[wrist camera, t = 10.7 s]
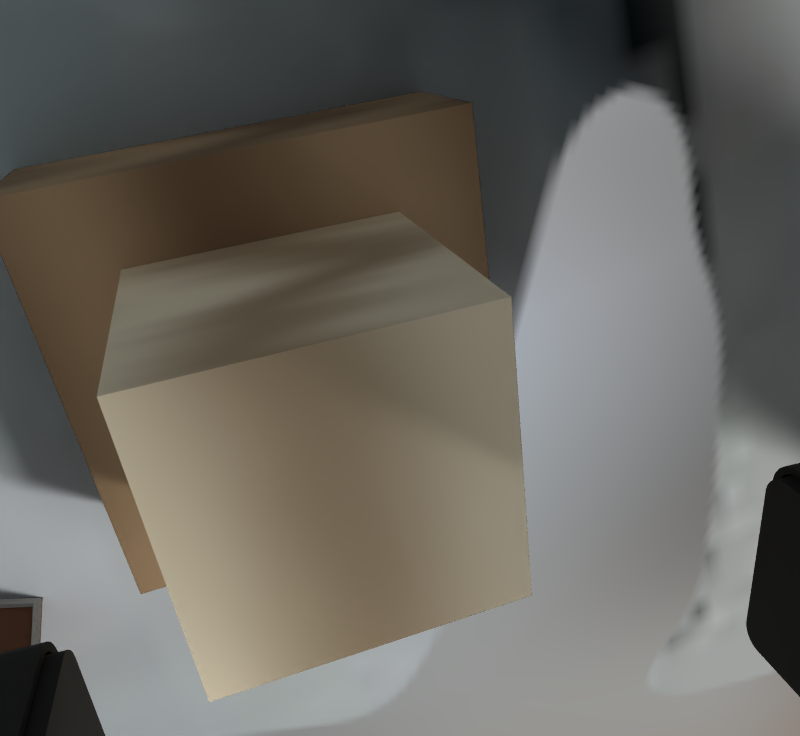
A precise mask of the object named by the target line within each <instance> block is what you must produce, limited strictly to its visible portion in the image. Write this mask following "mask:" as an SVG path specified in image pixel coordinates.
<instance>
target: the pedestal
mask: <svg viewBox="0 0 800 736" xmlns="http://www.w3.org/2000/svg"><path fill="white" fill-rule="evenodd" d="M394 212H401V213H402V214H403V215H405V216H406V217H407V218H408V219H410V220H411V221H412V222H414V223H415V224H416V225H418V226H419V227H420V228H422V229H423V230H424V231H426V232H427V233H428V234H429V235H431V236H432V237H433V238H435V239H436V240H437V241H439V242H440V243H441V244H443V245H444V246H445V247H447V248H448V249H449V250H451V251H452V252H453V253H454V254H456V255H457V256H458V257H460V258H461V259H462V260H464V261H465V262H466V263H468V264H469V265H470V266H472V267H473V268H474V269H475V270H477V271H478V272H479V273H481V274H482V275H483V276H485V277H486V278H487V279H489V273H488V262H487V252H486V242H485V231H484V221H483V210H482V200H481V189H480V179H479V169H478V158H477V148H476V137H475V127H474V117H473V106H472V103H471V102H466V101H461V100H457V99H452V98H448V97H443V96H438V95H434V94H429V93H425V92H416V93H411V94H406V95H400V96H395V97H390V98H385V99H379V100H374V101H369V102H364V103H359V104H353V105H348V106H343V107H338V108H333V109H327V110H322V111H317V112H312V113H306V114H301V115H296V116H291V117H286V118H280V119H275V120H270V121H265V122H260V123H254V124H249V125H244V126H239V127H233V128H228V129H223V130H218V131H213V132H207V133H202V134H197V135H192V136H187V137H181V138H176V139H171V140H166V141H160V142H155V143H150V144H145V145H140V146H134V147H129V148H124V149H119V150H114V151H108V152H103V153H98V154H93V155H87V156H82V157H77V158H72V159H67V160H61V161H56V162H51V163H46V164H41V165H35V166H30V167H25V168H20V169H14V170H13V171H11V172H10V173H9V174H8V175H7V176H6V177H5V178H4V179H2V180H1V181H0V254H1V256H2V258H3V261H4V263H5V266H6V268H7V271H8V273H9V275H10V278H11V280H12V283H13V285H14V288H15V290H16V292H17V295H18V297H19V300H20V302H21V305H22V307H23V309H24V312H25V314H26V317H27V319H28V322H29V324H30V326H31V329H32V331H33V334H34V336H35V339H36V341H37V343H38V346H39V348H40V351H41V353H42V356H43V358H44V360H45V363H46V365H47V368H48V370H49V373H50V375H51V377H52V380H53V382H54V385H55V387H56V390H57V392H58V394H59V397H60V399H61V402H62V404H63V407H64V409H65V411H66V414H67V416H68V419H69V421H70V424H71V426H72V428H73V431H74V433H75V436H76V438H77V440H78V443H79V445H80V448H81V450H82V453H83V455H84V457H85V460H86V462H87V465H88V467H89V470H90V472H91V474H92V477H93V479H94V482H95V484H96V487H97V489H98V491H99V494H100V496H101V499H102V501H103V504H104V506H105V508H106V511H107V513H108V516H109V518H110V521H111V523H112V525H113V528H114V530H115V533H116V535H117V538H118V540H119V542H120V545H121V547H122V550H123V552H124V555H125V557H126V559H127V562H128V564H129V567H130V569H131V572H132V574H133V576H134V579H135V581H136V584H137V586H138V589H139V591H140V593H141V594H143V593H146V592H149V591H153V590H156V589H159V588H162V587H166V583H165V581H164V578H163V575H162V573H161V570H160V567H159V564H158V562H157V559H156V556H155V554H154V551H153V548H152V545H151V543H150V540H149V537H148V535H147V532H146V529H145V526H144V524H143V521H142V518H141V516H140V513H139V510H138V507H137V505H136V502H135V499H134V497H133V494H132V491H131V489H130V486H129V483H128V480H127V478H126V475H125V472H124V470H123V467H122V464H121V461H120V459H119V456H118V453H117V451H116V448H115V445H114V442H113V440H112V437H111V434H110V432H109V429H108V426H107V423H106V421H105V418H104V415H103V413H102V410H101V407H100V405H99V402H98V399H97V393H98V387H99V382H100V377H101V372H102V367H103V361H104V356H105V351H106V346H107V341H108V336H109V330H110V325H111V320H112V315H113V310H114V304H115V299H116V294H117V289H118V284H119V278H120V273H121V270H122V269H127V268H131V267H136V266H141V265H146V264H150V263H155V262H160V261H165V260H170V259H174V258H179V257H184V256H189V255H193V254H198V253H203V252H208V251H213V250H217V249H222V248H227V247H232V246H236V245H241V244H246V243H251V242H255V241H260V240H265V239H270V238H275V237H279V236H284V235H289V234H294V233H298V232H303V231H308V230H313V229H318V228H322V227H327V226H332V225H337V224H341V223H346V222H351V221H356V220H360V219H365V218H370V217H375V216H380V215H384V214H389V213H394Z"/></svg>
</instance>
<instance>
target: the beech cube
mask: <svg viewBox="0 0 800 736" xmlns="http://www.w3.org/2000/svg"><path fill="white" fill-rule="evenodd" d="M97 399H98V402H99V405H100V407H101V410H102V413H103V415H104V418H105V421H106V423H107V426H108V429H109V432H110V434H111V437H112V440H113V442H114V445H115V448H116V451H117V453H118V456H119V459H120V461H121V464H122V467H123V470H124V472H125V475H126V478H127V480H128V483H129V486H130V489H131V491H132V494H133V497H134V499H135V502H136V505H137V507H138V510H139V513H140V516H141V518H142V521H143V524H144V526H145V529H146V532H147V535H148V537H149V540H150V543H151V545H152V548H153V551H154V554H155V556H156V559H157V562H158V564H159V567H160V570H161V573H162V575H163V578H164V581H165V583H166V586H167V589H168V592H169V594H170V597H171V600H172V602H173V605H174V608H175V610H176V613H177V616H178V619H179V621H180V624H181V627H182V629H183V632H184V635H185V638H186V640H187V643H188V646H189V648H190V651H191V654H192V657H193V659H194V662H195V665H196V667H197V670H198V673H199V676H200V678H201V681H202V684H203V686H204V689H205V692H206V695H207V697H208V700H209V702H211V701H214V700H217V699H220V698H223V697H226V696H229V695H232V694H235V693H238V692H241V691H244V690H247V689H250V688H253V687H256V686H260V685H263V684H266V683H269V682H272V681H275V680H278V679H281V678H284V677H287V676H290V675H293V674H296V673H299V672H302V671H305V670H308V669H311V668H314V667H317V666H320V665H323V664H326V663H329V662H332V661H335V660H338V659H341V658H344V657H347V656H350V655H353V654H356V653H359V652H363V651H366V650H369V649H372V648H375V647H378V646H381V645H384V644H387V643H390V642H393V641H396V640H399V639H402V638H405V637H408V636H411V635H414V634H417V633H420V632H423V631H426V630H429V629H432V628H435V627H438V626H441V625H444V624H447V623H450V622H453V621H456V620H459V619H462V618H466V617H468V616H472V615H475V614H477V613H481V612H484V611H486V610H490V609H493V608H496V607H499V606H502V605H505V604H508V603H511V602H514V601H517V600H520V599H523V598H526V597H529V596H531V595H532V592H531V591H532V590H531V576H530V561H529V547H528V532H527V518H526V504H525V489H524V475H523V459H522V444H521V430H520V415H519V401H518V386H517V371H516V357H515V342H514V328H513V313H512V298H511V296H510V295H508V294H507V293H506V292H504V291H503V290H502V289H500V288H499V287H498V286H496V285H495V284H494V283H493V282H491V281H490V280H489V279H487V278H486V277H485V276H483V275H482V274H481V273H479V272H478V271H477V270H475V269H474V268H473V267H472V266H470V265H469V264H468V263H466V262H465V261H464V260H462V259H461V258H460V257H458V256H457V255H456V254H454V253H453V252H452V251H451V250H449V249H448V248H447V247H445V246H444V245H443V244H441V243H440V242H439V241H437V240H436V239H435V238H433V237H432V236H431V235H429V234H428V233H427V232H426V231H424V230H423V229H422V228H420V227H419V226H418V225H416V224H415V223H414V222H412V221H411V220H410V219H408V218H407V217H406V216H405V215H403V214H402V213H401V212H394V213H389V214H384V215H380V216H375V217H370V218H365V219H360V220H356V221H351V222H346V223H341V224H337V225H332V226H327V227H322V228H318V229H313V230H308V231H303V232H298V233H294V234H289V235H284V236H279V237H275V238H270V239H265V240H260V241H255V242H251V243H246V244H241V245H236V246H232V247H227V248H222V249H217V250H213V251H208V252H203V253H198V254H193V255H189V256H184V257H179V258H174V259H170V260H165V261H160V262H155V263H150V264H146V265H141V266H136V267H131V268H127V269H122V270H121V273H120V278H119V284H118V289H117V294H116V299H115V304H114V310H113V315H112V320H111V325H110V330H109V336H108V341H107V346H106V351H105V356H104V361H103V367H102V372H101V377H100V382H99V387H98V393H97Z"/></svg>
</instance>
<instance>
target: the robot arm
mask: <svg viewBox="0 0 800 736" xmlns="http://www.w3.org/2000/svg"><path fill="white" fill-rule="evenodd" d="M746 627H747V632H748V635H749V638H750V640H751V642H752V644H753V645H754V647H755V648H756V649H757V651H758V652H759V653H760V654H761V655H762V656H763V657H764V658H765V659H766V661H767V662H768V663H769V664H770V665H771V666H772V667H773V668H774V669H775V670H776V671H777V673H778V674H779V675H780V676H781V677H782V678H783V679H784V680H785V681H786V682H787V683H788V684H789V686H790V687H791V688H792V689H793V690H794V691H795V692H796V693H797V694H798V695H799V697H800V463H798V464H793V465H789V466H785V467H782V468H780V469H778V470H777V472H776V473H775V475H774V478H773V481H770V483H769V484H768V485H767V488H766V494H765V500H764V507H763V514H762V520H761V527H760V534H759V541H758V547H757V554H756V561H755V567H754V574H753V581H752V588H751V594H750V601H749V608H748V614H747V621H746ZM0 736H105V734H104V731H103V729H102V726H101V723H100V721H99V718H98V716H97V713H96V710H95V708H94V705H93V702H92V700H91V697H90V695H89V692H88V689H87V687H86V684H85V682H84V679H83V676H82V674H81V671H80V668H79V666H78V663H77V661H76V658H75V656H74V654H73V652H72V651H71V650H65V651H61V652H58V651H57V649H56V647H55V646H54V645H53V644H52V643H51V642H44V643H39V644H35V645H31V646H27V647H23V648H18V649H14V650H10V651H6V652H2V653H0Z"/></svg>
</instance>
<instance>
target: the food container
mask: <svg viewBox="0 0 800 736" xmlns="http://www.w3.org/2000/svg"><path fill="white" fill-rule="evenodd" d="M42 599H43V598H12V599H0V653H2V652H6V651H10V650H14V649H18V648H23V647H27V646H31V645H35V644H39V643H40V640H41V620H42Z"/></svg>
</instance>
